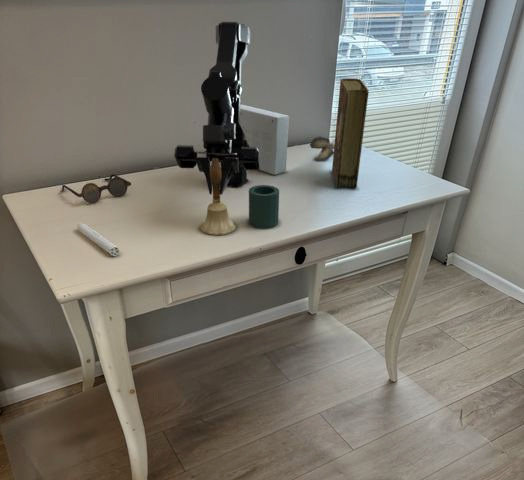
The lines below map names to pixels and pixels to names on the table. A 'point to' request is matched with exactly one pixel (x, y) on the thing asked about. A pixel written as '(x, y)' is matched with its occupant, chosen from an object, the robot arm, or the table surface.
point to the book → (349, 132)
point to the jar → (263, 206)
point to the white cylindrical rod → (98, 239)
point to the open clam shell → (323, 148)
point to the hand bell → (217, 207)
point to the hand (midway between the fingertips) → (215, 193)
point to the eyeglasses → (93, 192)
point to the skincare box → (266, 136)
